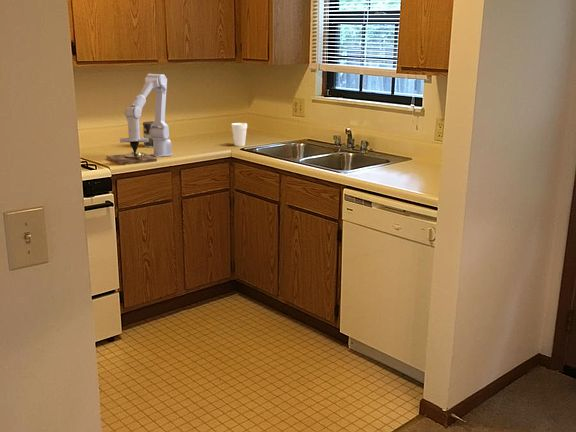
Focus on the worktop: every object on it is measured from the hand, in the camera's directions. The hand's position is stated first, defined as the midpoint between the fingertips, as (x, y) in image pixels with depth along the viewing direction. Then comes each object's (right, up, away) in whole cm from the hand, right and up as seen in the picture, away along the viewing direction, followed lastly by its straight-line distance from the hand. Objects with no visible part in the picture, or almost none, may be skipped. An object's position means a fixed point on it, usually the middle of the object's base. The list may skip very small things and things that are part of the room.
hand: (135, 156), depth 322 cm
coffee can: (-1, +10, +47) cm, 48 cm away
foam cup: (+50, +12, +53) cm, 74 cm away
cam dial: (-1, 0, +6) cm, 6 cm away
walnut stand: (-3, -1, +6) cm, 7 cm away
